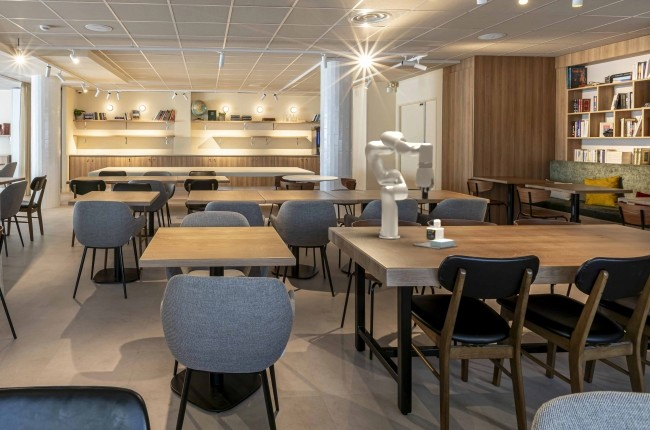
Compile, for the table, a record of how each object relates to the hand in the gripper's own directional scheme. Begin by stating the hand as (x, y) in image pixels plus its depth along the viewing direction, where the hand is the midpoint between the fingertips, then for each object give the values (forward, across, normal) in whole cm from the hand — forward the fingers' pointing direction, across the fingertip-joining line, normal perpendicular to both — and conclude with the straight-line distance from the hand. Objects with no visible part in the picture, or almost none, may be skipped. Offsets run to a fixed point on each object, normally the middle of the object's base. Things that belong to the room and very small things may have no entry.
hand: (424, 199), depth 348 cm
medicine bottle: (+25, -6, +16) cm, 31 cm away
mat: (+25, +8, 0) cm, 26 cm away
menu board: (+23, +9, 0) cm, 25 cm away
